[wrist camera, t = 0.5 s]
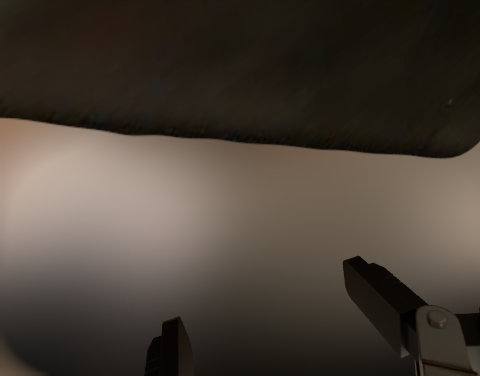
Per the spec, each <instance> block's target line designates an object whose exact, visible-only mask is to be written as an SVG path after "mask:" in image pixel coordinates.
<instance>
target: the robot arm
mask: <svg viewBox="0 0 480 376" xmlns="http://www.w3.org/2000/svg"><path fill="white" fill-rule="evenodd" d="M343 271H344V279H345V287H346V290H347V292H348V294H349V296H350V298H351V299H352V300H353V302H354V303H355V304H356V305H357V306H358V308H359V309H360V310H361V311H362V312H363V313H364V315H365V316H366V317H367V318H368V319H369V320H370V322H371V323H372V324H373V325H374V326H375V328H376V329H377V330H378V331H379V332H380V334H382V336H383V337H384V338H385V339H386V341H388V343H389V344H390V345H391V347H392V348H393V349H394V350H395V351H396V352H397V354H398V355H399V356H400V357H401V358H402V357H404V356H407V355H409V354H410V355H411V356H412V357H413V358H414V359H415V368H416V376H480V308H479V313H471V314H453V313H452V312H450V311H449V310H447V309H445V308H442V307H439V306H434V305H428V304H427V303H426V302H425V301H423V300H422V299H421V298H420V297H419V296H418V295H416V294H415V293H414V292H413V291H412V290H411V289H409V288H408V287H407V286H406V285H405V284H403V283H402V282H400V280H399V279H397V278H396V277H395V276H393V274H391V273H390V272H389V271H388V270H387V269H386V268H384V267H382V266H379V265H377V264H375V263H371V264H368V263H367V262H366V261H365V260H363V259H362V258H361V257H360V256H356V257H353V258H350V259H347V260H344V261H343ZM193 367H194V366H193V352H192V347H191V343H190V340H189V337H188V335H187V332H186V330H185V327H184V325H183V322H182V320H181V318H180V317H176V318H173V319H170V320H167V321H165V322H163V324H162V336H159V337H156V338H154V339H153V340H152V342H151V344H150V346H149V348H148V351H147V359H146V367H145V376H194V368H193Z"/></svg>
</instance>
